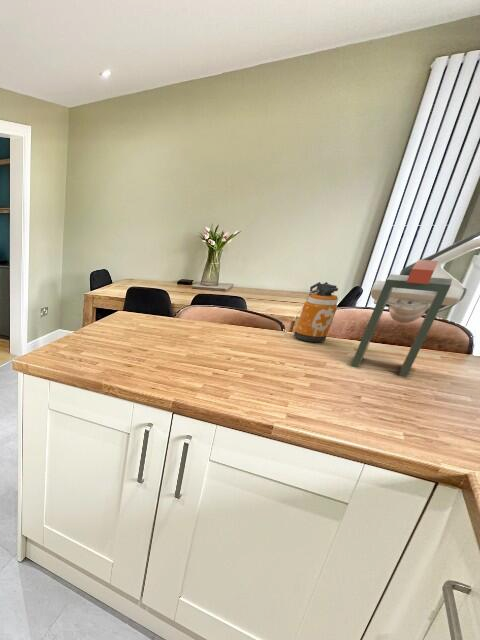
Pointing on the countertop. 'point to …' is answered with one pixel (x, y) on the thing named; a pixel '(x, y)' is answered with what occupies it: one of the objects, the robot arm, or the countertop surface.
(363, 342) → the dark green stand
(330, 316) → the canister
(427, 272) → the red bar
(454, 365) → the countertop surface
